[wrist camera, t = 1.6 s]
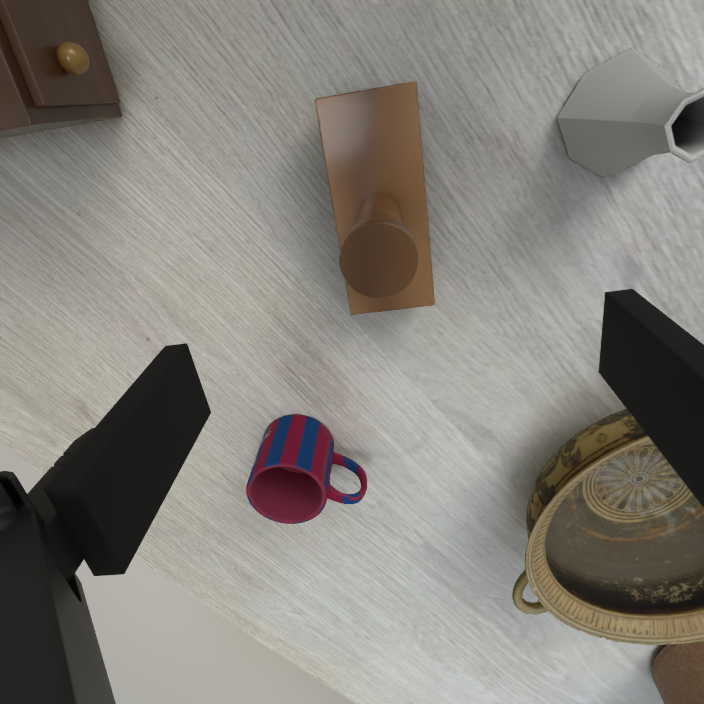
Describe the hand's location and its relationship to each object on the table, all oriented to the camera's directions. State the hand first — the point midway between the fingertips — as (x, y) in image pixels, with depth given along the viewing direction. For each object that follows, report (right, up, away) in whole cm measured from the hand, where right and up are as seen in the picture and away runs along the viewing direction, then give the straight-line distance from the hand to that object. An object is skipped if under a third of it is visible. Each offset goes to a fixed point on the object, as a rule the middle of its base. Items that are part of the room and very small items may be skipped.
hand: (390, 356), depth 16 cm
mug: (-5, -9, +31) cm, 33 cm away
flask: (+16, +16, +17) cm, 28 cm away
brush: (+1, +11, +20) cm, 23 cm away
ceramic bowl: (+25, -10, +30) cm, 40 cm away
